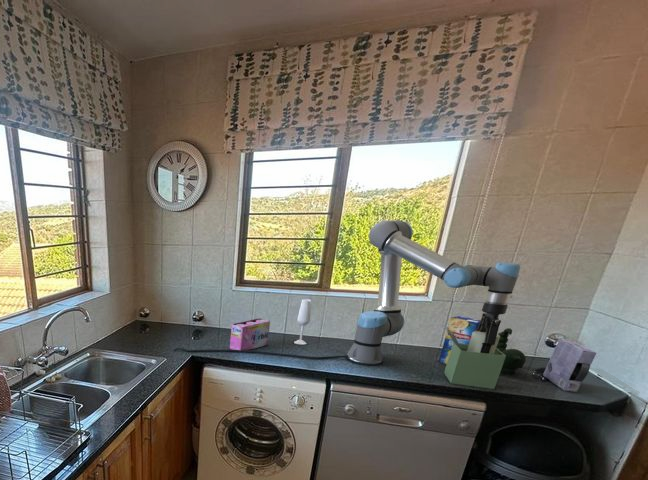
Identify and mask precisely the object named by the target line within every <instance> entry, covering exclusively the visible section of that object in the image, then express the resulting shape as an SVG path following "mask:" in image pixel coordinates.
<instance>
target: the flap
mask: <svg viewBox="0 0 648 480" xmlns="http://www.w3.org/2000/svg"><path fill="white" fill-rule="evenodd" d="M445 330H446V332H447V331H448V333H449V335H450V337H451V339H452V341H453V342H454V343H455V344H456V345H457V346H458V347H459V348H460V349H461V347H460V345H459V343H458V341H457V339H456V338H455V336H454V334H453V333H452V332H451V331H450V330H449V329H448V326H445Z"/></svg>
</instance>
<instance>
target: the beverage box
mask: <svg viewBox="0 0 648 480" xmlns="http://www.w3.org/2000/svg"><path fill="white" fill-rule="evenodd" d="M480 321H481V319H478V318H471V317H466V316H461V315H458V316H452V317H450V321H449V324H448V326H447V328H448V329H449V330H450V331H451V332H452V333H453V334H454V336H455V338H456V339H457V341H458V343H461V344H469V343H470V340H471V336H472V332H475V331H476V330H477V328H478V326H479V323H480ZM453 343H454V342H453V341H452V339H451V337H450V335H449V333H448V331H447V330H446V334H445V338H444V341H443V345H442V348H441V351H440V355H439V359H438V362H439V363H441V364H442V363H443V364H445V365H447V362H448V358H449V355H450V352H451V348H452V345H453Z"/></svg>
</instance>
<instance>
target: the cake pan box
mask: <svg viewBox="0 0 648 480" xmlns="http://www.w3.org/2000/svg"><path fill="white" fill-rule="evenodd" d="M596 356H597V351H594V350H593V349H590V348H588V347H587V346H585V345H582V344H581V343H579V342H577V341H575V340H573V339H568V338H558V341H557V343H556V345H555V347H554V350H553V351H552V354H551V356H550V359H549V361H548V362H547V364H546V367H545V369H544V371H543V373H542V377H545V378H546V379H547V380H549V381H550V382H551V383H552V384H553V385H556V387H558V388H560V389H561V390H562V391H564V392H573V393H578V391H579V389H580V386H581V385H582V383H583V381H585V379H586V377H587V376H588V374H589V371H590V369H591V365H592V364H593V361H594V359H595V357H596Z"/></svg>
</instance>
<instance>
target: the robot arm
mask: <svg viewBox="0 0 648 480" xmlns="http://www.w3.org/2000/svg"><path fill="white" fill-rule="evenodd" d="M413 231H414V230H413V227H412V226H411V224H410V223H409V222H407V221H404V220H400V219H399V220H398V219H397V220H382V221H379V222H377V223H375V224H374V225H373V226H372V227H371V229H370V230H369V233H368V239H369V242H370V244H371V245H372V246H373V247H375V248H377V253H379V254H380V256H381V257H380V269H379V282H378V294H377V305H376V306H375V307H374V308H373V310H369V311H364V312H362V313H360V314H359V317H358V319H357V324H356V329H355V335H354V339H353V343H352V345H351V347H350V348H349V350H348V352H347V354H346V355H330V356H329V355H328V356H311V355H310V356H308V355H300V354H290V353H282V352H281V353H280V352H272V351H261V350H251V349H250V350H232V349H222V348H221V349H215V348H214V349H209V348H207V349H187V348H184V347H175V348H174V349H173V350H172V351H173V352H175V351H177V350H180V351H184V352H188V353H189V352H190V353H195V352H197V353H198V352H229V353H230V352H232V353H233V352H234V353H251V354H252V353H253V354H265V355H274V356H283V357H292V358H302V359H310V360H311V359H312V360H325V359H341V358H342V359H343V358H344V359H345V358H346V359H347V360H348V361H349V362H351V363H355V364H359V365H366V366H378V365H381V364H382V362H383V356H382V349H381V346H382V341H383V338H385V337H391V336H394V335H396V334H397V333H400V331H401V330H402V329H403V328H404V326H405V316H404V315H402V307H401V306H399V297H400V285H401V274H402V264H403V263H402V262H403V260H405V261H407V262H408V263H411V264H412V265H414V266H416V267H418V268H419V269H422V270H423V271H425V272H427V273H429V274H431V275H432V276H434V277H436V278H438V279H440V280H442V281H443V282H444V284H445V285H446V286H447V287H449V288H453V289H459V288H464V287H470V286H481V287H488V289H487V291H486V295H485V297H484V302H483V305H482V308H481V311H482V312H483V313H482V314H481V318H480V320H481V321H480V323H479V326H478V328H477V330H476V331H479V332H486V335H485V336H486V337H485V341H484V343H482V344H483V345H482V348H481V351H480V353H487V354H489V351H490V348H491V345H495V341H496V337H497V335H498V333H499V328H500V326H501V323H502V320H501V319H500V318H499V316H500V315H505V314H506V313H507V309H508V307H509V305H508V304H510V300H511V299H512V298H513V291H514V289H515V286H516V283H517V281H518V278H519V275H520V270H521V264H519V263H515V262H497V263H495V266H481V265H474V264H462V265H461V264H459V263H457V262H455V261H454V260H452V259H449V258H448V257H446V256H444V255H442V254H439V253H438V252H436V251H434V250H432V249H430V248H427V247H426V246H424V245H422V244H420V243H418V242H416V241H414V240H412V238H413V233H414V232H413ZM489 341H490V342H489Z"/></svg>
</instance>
